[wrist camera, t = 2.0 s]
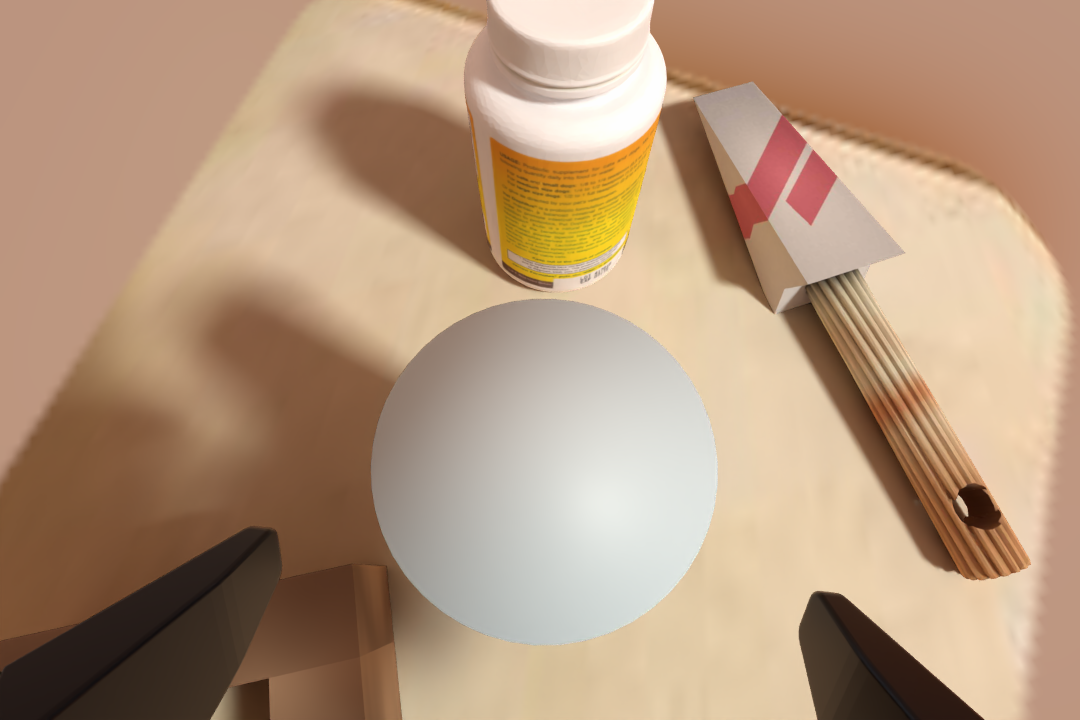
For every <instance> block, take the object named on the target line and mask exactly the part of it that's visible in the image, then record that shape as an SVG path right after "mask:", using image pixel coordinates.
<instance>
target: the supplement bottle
mask: <svg viewBox="0 0 1080 720" xmlns="http://www.w3.org/2000/svg"><path fill="white" fill-rule="evenodd" d="M486 1H487V12H488V19H487V25H486V26H485V27H484V28H483V29H482V31H481V32H480V33H479V34H478V36H477V37H476V39H475V40H474V42H473V44H472V46H471V48H470V50H469V52H468V55H467V59H466V63H465V69H464V88H465V98H466V105H467V111H468V118H469V125H470V131H471V138H472V145H473V152H474V159H475V165H476V172H477V180H478V187H479V192H480V199H481V206H482V212H483V218H484V224H485V231H486V236H487V241H488V245H489V248H490V251H491V253H492V255H493V257H494V258H495V260H496V262H497V263H498V264H499V266H500V267H501V268H502V269H503V270H504V271H505V272H506V273H507V274H508V275H509V276H511V277H512V278H513V279H515V280H516V281H518V282H520V283H522V284H524V285H525V286H528V287H531V288H533V289H537V290H541V291H546V292H569V291H575V290H578V289H582V288H584V287H587V286H589V285H591V284H593V283H595V282H597V281H599V280H600V279H601V278H603V277H604V276H605V275H606V274H608V273H609V272H610V271H611V269H612V268H613V267H614V266H615V265H616V263H617V262H618V260H619V258H620V257H621V255H622V253H623V250H624V247H625V244H626V242H627V239H628V235H629V231H630V227H631V223H632V220H633V216H634V212H635V208H636V204H637V200H638V196H639V193H640V190H641V186H642V181H643V178H644V174H645V171H646V167H647V162H648V158H649V154H650V151H651V147H652V143H653V139H654V136H655V132H656V128H657V125H658V121H659V118H660V113H661V109H662V106H663V100H664V95H665V90H666V81H667V77H666V67H665V62H664V58H663V55H662V53H661V50H660V48H659V46H658V44H657V43H656V41H655V39H654V38H653V36H652V35H651V34H650V19H651V14H652V9H653V5H654V0H486Z"/></svg>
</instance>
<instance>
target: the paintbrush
mask: <svg viewBox="0 0 1080 720" xmlns="http://www.w3.org/2000/svg"><path fill="white" fill-rule="evenodd" d="M693 99H694V102H695V104H696V107H697V110H698V113H699V115H700V118H701V121H702V124H703V126H704V129H705V132H706V135H707V137H708V140H709V143H710V146H711V149H712V151H713V154H714V157H715V160H716V162H717V165H718V168H719V171H720V173H721V176H722V179H723V182H724V184H725V187H726V190H727V193H728V195H729V198H730V201H731V204H732V206H733V209H734V212H735V215H736V217H737V220H738V223H739V226H740V228H741V231H742V234H743V237H744V239H745V242H746V245H747V248H748V251H749V253H750V256H751V259H752V262H753V264H754V267H755V270H756V273H757V275H758V278H759V281H760V284H761V286H762V289H763V292H764V294H765V296H766V298H767V300H768V302H769V304H770V306H771V308H772V310H773V313H774V314H777V313H780V312H783V311H786V310H789V309H792V308H795V307H798V306H801V305H805V304H808V303H812V305H813V306H814V308H815V310H816V312H817V314H818V316H819V318H820V319H821V321H822V323H823V325H824V326H825V328H826V330H827V332H828V333H829V335H830V337H831V339H832V340H833V342H834V344H835V346H836V348H837V349H838V351H839V353H840V355H841V356H842V358H843V360H844V362H845V363H846V365H847V367H848V369H849V370H850V372H851V374H852V376H853V378H854V380H855V382H856V384H857V385H858V387H859V389H860V391H861V393H862V394H863V396H864V398H865V400H866V402H867V404H868V405H869V407H870V409H871V411H872V413H873V415H874V416H875V418H876V420H877V422H878V424H879V425H880V427H881V429H882V431H883V433H884V435H885V436H886V438H887V440H888V442H889V444H890V446H891V447H892V449H893V451H894V453H895V455H896V456H897V458H898V460H899V462H900V464H901V466H902V467H903V469H904V471H905V473H906V475H907V477H908V478H909V480H910V482H911V484H912V486H913V487H914V489H915V491H916V493H917V495H918V497H919V498H920V500H921V502H922V504H923V506H924V508H925V509H926V511H927V513H928V515H929V517H930V518H931V520H932V522H933V524H934V526H935V528H936V529H937V531H938V533H939V535H940V537H941V539H942V540H943V542H944V544H945V546H946V548H947V549H948V551H949V553H950V555H951V557H952V559H953V560H954V562H955V564H956V566H957V568H958V570H959V571H960V573H961V575H962V576H963V577H965V578H966V579H971V580H977V579H979V580H985V579H988V578H991V579H994V578H998V577H1000V576H1008V575H1010V574H1011V573H1016V572H1020V570H1022V569H1026V568H1028V565H1031V562H1030V559H1029V557H1028V556H1027V554H1026V552H1025V551H1024V549H1023V547H1022V545H1021V544H1020V542H1019V540H1018V539H1017V537H1016V535H1015V534H1014V532H1013V530H1012V529H1011V527H1010V525H1009V524H1008V522H1007V520H1006V518H1005V517H1004V515H1003V513H1002V512H1001V510H1000V508H999V507H998V505H997V503H996V502H995V500H994V498H993V496H992V495H991V493H990V491H989V490H988V488H987V486H986V485H985V483H984V481H983V480H982V478H981V476H980V475H979V473H978V471H977V469H976V468H975V466H974V464H973V463H972V461H971V459H970V458H969V456H968V454H967V453H966V451H965V449H964V447H963V446H962V444H961V442H960V441H959V439H958V437H957V436H956V434H955V432H954V431H953V429H952V427H951V426H950V424H949V422H948V420H947V419H946V417H945V415H944V414H943V412H942V410H941V409H940V407H939V405H938V404H937V402H936V400H935V399H934V397H933V395H932V393H931V392H930V390H929V388H928V387H927V385H926V383H925V382H924V380H923V378H922V377H921V375H920V373H919V371H918V370H917V368H916V366H915V365H914V363H913V361H912V360H911V358H910V356H909V355H908V353H907V351H906V350H905V348H904V346H903V345H902V343H901V342H900V340H899V338H898V337H897V335H896V333H895V332H894V330H893V328H892V327H891V325H890V323H889V322H888V320H887V319H886V317H885V315H884V313H883V312H882V310H881V308H880V306H879V305H878V303H877V301H876V299H875V298H874V296H873V294H872V292H871V291H870V289H869V287H868V285H867V284H866V282H865V280H864V278H865V276H866V273H867V271H868V269H869V266H870V264H873V263H876V262H879V261H883V260H886V259H889V258H892V257H895V256H898V255H901V254H904V253H905V252H904V251H903V250H902V249H901V248H900V246H899V245H898V244H897V243H896V242H895V241H894V240H893V239H892V238H891V236H890V235H889V234H888V233H887V232H886V231H885V230H884V229H883V227H882V226H881V225H880V224H879V223H878V222H877V221H876V220H875V218H874V217H873V216H872V215H871V214H870V213H869V212H868V211H867V209H866V208H865V207H864V206H863V205H862V204H861V203H860V202H859V200H858V199H857V198H856V197H855V196H854V195H853V194H852V193H851V191H850V190H849V189H848V188H847V187H846V186H845V185H844V184H843V182H842V181H841V180H840V179H839V178H838V177H837V176H836V175H835V173H834V172H833V171H832V170H831V169H830V168H829V167H828V166H827V164H826V163H825V162H824V161H823V160H822V159H821V158H820V157H819V155H818V154H817V153H816V152H815V151H814V150H813V149H812V148H811V146H810V145H809V144H808V143H807V142H806V141H805V140H804V139H803V137H802V136H801V135H800V134H799V133H798V132H797V131H796V130H795V128H794V127H793V126H792V125H791V124H790V123H789V122H788V121H787V120H786V118H785V117H784V116H783V115H782V114H781V113H780V112H779V111H778V109H777V108H776V107H775V106H774V105H773V104H772V103H771V102H770V100H769V99H768V98H767V97H766V96H765V95H764V94H763V93H762V92H761V90H760V89H759V88H758V87H757V86H756V85H755V84H754V83H753V82H749V83H746V84H742V85H738V86H735V87H731V88H727V89H723V90H720V91H716V92H712V93H709V94H705V95H701V96H698V97H694V98H693ZM957 495H959V496H960V497H961V498H962V499H963V501H964V503H965V504H966V506H967V508H968V517H965V518H964V522H962V521H961V520H960V518H959V517H958V515H957V514H956V513H955V510H954V507H953V503H952V500H956V498H957Z"/></svg>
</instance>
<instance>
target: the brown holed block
mask: <svg viewBox="0 0 1080 720" xmlns="http://www.w3.org/2000/svg"><path fill="white" fill-rule="evenodd" d="M76 625H78V624H75V625H71V626H66V627H61V628H57V629H52V630H48V631H43V632H39V633H34V634H30V635H25V636H20V637H16V638H11V639H7V640H2V641H0V671H1V672H2V670H3V668H4V667H5V666H7V665H8V664H10V663H12V662H14V661H15V660H17V659H19V658H21V657H22V656H24V655H26V654H27V653H29V652H31V651H33V650H34V649H36V648H38V647H40V646H41V645H43V644H45V643H47V642H48V641H50V640H52V639H54V638H55V637H57V636H59V635H61V634H62V633H64V632H66V631H68V630H69V629H71V628H73V627H75V626H76ZM268 678H269V700H270V720H402V714H401V704H400V694H399V684H398V675H397V665H396V655H395V645H394V636H393V626H392V616H391V606H390V597H389V587H388V577H387V567H386V566H376V565H362V564H349V565H345V566H340V567H336V568H331V569H326V570H322V571H317V572H313V573H308V574H304V575H299V576H294V577H290V578H285V579H281V580H279V581H278V583H277V586H276V588H275V590H274V592H273V595H272V597H271V599H270V601H269V603H268V606H267V608H266V610H265V612H264V615H263V617H262V619H261V621H260V624H259V626H258V628H257V630H256V633H255V635H254V637H253V639H252V641H251V644H250V646H249V648H248V650H247V653H246V655H245V657H244V659H243V661H242V663H241V665H240V667H239V669H238V671H237V673H236V675H235V677H234V678H233V680H232V682H231V684H230V686H229V687H233V686H238V685H242V684H246V683H251V682H255V681H259V680H263V679H268ZM229 687H228V688H229Z"/></svg>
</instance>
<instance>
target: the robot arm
mask: <svg viewBox="0 0 1080 720" xmlns="http://www.w3.org/2000/svg"><path fill="white" fill-rule="evenodd" d="M281 571H282V561H281V554H280V547H279V540H278V535H277V532H276V531H275V530H274V529H272V528H267V527H258V526H250V527H248V528H246V529H244V530H242V531H240V532H238V533H237V534H235V535H233V536H231V537H230V538H228V539H226V540H225V541H223V542H221V543H219V544H218V545H216V546H214V547H212V548H211V549H209V550H207V551H205V552H204V553H202V554H200V555H198V556H197V557H195V558H193V559H191V560H190V561H188V562H186V563H184V564H183V565H181V566H179V567H177V568H176V569H174V570H172V571H170V572H169V573H167V574H165V575H164V576H162V577H160V578H158V579H157V580H155V581H153V582H151V583H150V584H148V585H146V586H144V587H143V588H141V589H139V590H137V591H136V592H134V593H132V594H130V595H129V596H127V597H125V598H123V599H122V600H120V601H118V602H116V603H115V604H113V605H111V606H109V607H108V608H106V609H104V610H102V611H101V612H99V613H97V614H96V615H94V616H92V617H90V618H89V619H87V620H85V621H83V622H82V623H80V624H78V625H76V626H75V627H73V628H71V629H69V630H68V631H66V632H64V633H62V634H61V635H59V636H57V637H55V638H54V639H52V640H50V641H48V642H47V643H45V644H43V645H41V646H40V647H38V648H36V649H34V650H33V651H31V652H29V653H27V654H26V655H24V656H22V657H21V658H19V659H17V660H15V661H14V662H12V663H10V664H8V665H7V666H5V667H4V668H3V670H2V672H1V671H0V720H210V719H211V717H212V715H213V714H214V712H215V710H216V708H217V707H218V705H219V703H220V701H221V700H222V698H223V696H224V694H225V693H226V691H227V689H228V687H229V686H230V684H231V682H232V680H233V678H234V677H235V675H236V673H237V671H238V669H239V667H240V665H241V663H242V661H243V659H244V657H245V655H246V653H247V650H248V648H249V646H250V644H251V641H252V639H253V637H254V635H255V633H256V630H257V628H258V626H259V624H260V621H261V619H262V617H263V615H264V612H265V610H266V608H267V606H268V603H269V601H270V599H271V597H272V595H273V592H274V590H275V588H276V586H277V583H278V581H279V579H280V575H281ZM799 641H800V646H801V650H802V655H803V659H804V663H805V668H806V672H807V676H808V681H809V685H810V689H811V694H812V698H813V702H814V707H815V711H816V716H817V720H984V719H983V718H982V717H981V716H980V715H979V714H978V713H976V712H975V711H974V710H973V709H972V708H971V707H970V706H968V705H967V704H966V703H965V702H964V701H963V700H962V699H960V698H959V697H958V696H957V695H956V694H955V693H954V692H952V691H951V690H950V689H949V688H948V687H947V686H946V685H945V684H943V683H942V682H941V681H940V680H939V679H938V678H937V677H935V676H934V675H933V674H932V673H931V672H930V671H929V670H927V669H926V668H925V667H924V666H923V665H922V664H921V663H920V662H918V661H917V660H916V659H915V658H914V657H913V656H912V655H910V654H909V653H908V652H907V651H906V650H905V649H904V648H902V647H901V646H900V645H899V644H898V643H897V642H896V641H895V640H893V639H892V638H891V637H890V636H889V635H888V634H887V633H885V632H884V631H883V630H882V629H881V628H880V627H879V626H877V625H876V624H875V623H874V622H873V621H872V620H871V619H870V618H868V617H867V616H866V615H865V614H864V613H863V612H862V611H860V610H859V609H858V608H857V607H856V606H855V605H854V604H852V603H851V602H850V601H849V600H848V599H847V598H846V597H844V596H843V595H841V594H838V593H833V592H824V591H815V592H814V593H813V594H812V595H811V597H810V599H809V602H808V604H807V607H806V610H805V612H804V615H803V618H802V620H801V623H800V626H799Z"/></svg>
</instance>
